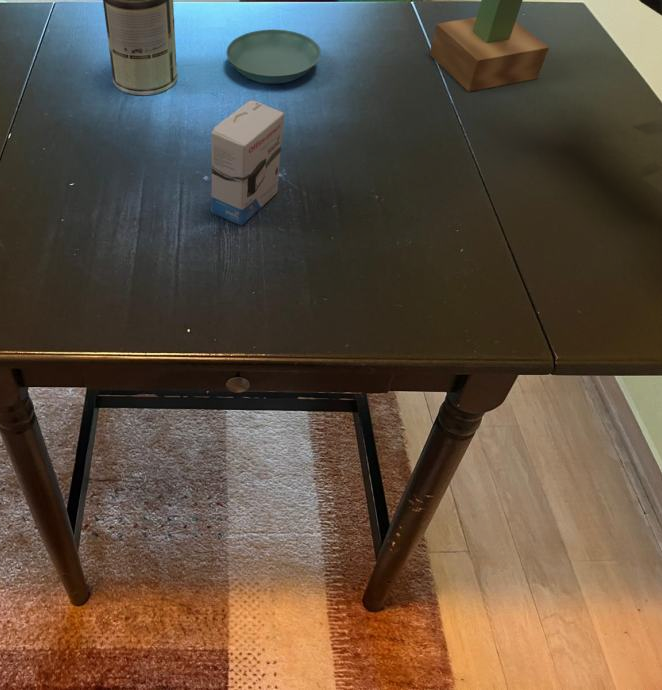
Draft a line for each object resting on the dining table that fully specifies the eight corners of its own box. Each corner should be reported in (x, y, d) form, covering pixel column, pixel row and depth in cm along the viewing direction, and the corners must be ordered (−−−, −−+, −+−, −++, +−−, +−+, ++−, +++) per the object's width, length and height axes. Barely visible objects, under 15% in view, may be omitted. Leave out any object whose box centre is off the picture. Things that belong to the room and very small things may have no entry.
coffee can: (101, 72, 109) (88, -21, 98) (159, 56, 112) (153, -36, 101) (129, 103, 103) (119, 7, 92) (189, 84, 106) (186, -10, 95)
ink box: (241, 227, 84) (244, 145, 75) (209, 212, 86) (208, 130, 77) (279, 192, 89) (287, 111, 80) (248, 179, 91) (252, 97, 82)
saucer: (292, 37, 115) (293, 21, 113) (336, 79, 106) (338, 62, 104) (211, 55, 112) (211, 39, 110) (250, 100, 103) (250, 83, 101)
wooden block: (494, 42, 113) (503, 12, 109) (537, 78, 106) (549, 47, 102) (428, 54, 111) (436, 23, 107) (468, 92, 104) (478, 60, 100)
